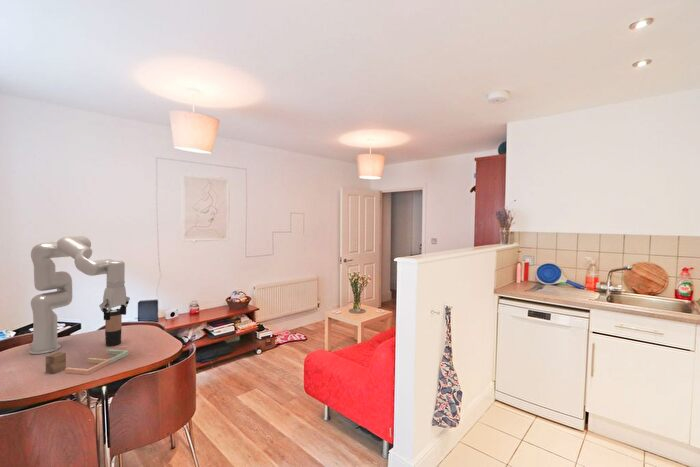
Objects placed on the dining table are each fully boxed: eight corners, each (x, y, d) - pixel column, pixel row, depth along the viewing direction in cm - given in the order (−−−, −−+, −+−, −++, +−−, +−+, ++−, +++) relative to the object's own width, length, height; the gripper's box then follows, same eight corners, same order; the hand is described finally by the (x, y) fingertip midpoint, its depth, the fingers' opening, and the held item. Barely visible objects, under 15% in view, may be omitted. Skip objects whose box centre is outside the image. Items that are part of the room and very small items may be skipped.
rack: (64, 372, 148) (64, 368, 148) (108, 352, 171) (108, 349, 171) (87, 374, 147) (87, 370, 147) (128, 354, 170) (128, 350, 170)
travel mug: (112, 347, 179) (112, 312, 179) (101, 345, 181) (101, 311, 180) (124, 342, 187) (125, 309, 186) (114, 341, 188) (114, 308, 188)
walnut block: (45, 372, 147) (45, 356, 147) (56, 368, 152) (56, 351, 152) (54, 373, 147) (55, 356, 147) (65, 369, 152) (65, 352, 152)
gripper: (123, 281, 172) (122, 312, 172) (93, 287, 155) (93, 321, 155) (135, 282, 171) (135, 313, 171) (107, 288, 154) (106, 322, 154)
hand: (115, 317), depth 163 cm, fingers open, 9 cm apart
